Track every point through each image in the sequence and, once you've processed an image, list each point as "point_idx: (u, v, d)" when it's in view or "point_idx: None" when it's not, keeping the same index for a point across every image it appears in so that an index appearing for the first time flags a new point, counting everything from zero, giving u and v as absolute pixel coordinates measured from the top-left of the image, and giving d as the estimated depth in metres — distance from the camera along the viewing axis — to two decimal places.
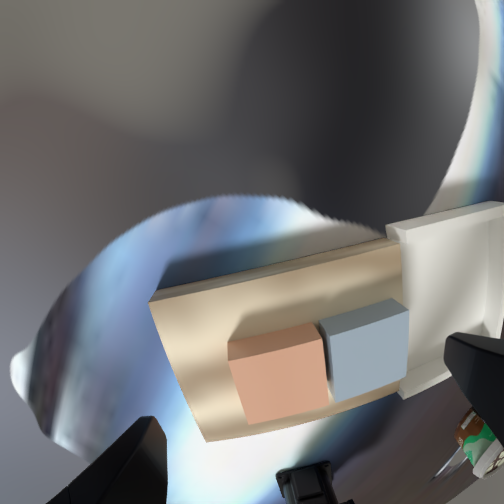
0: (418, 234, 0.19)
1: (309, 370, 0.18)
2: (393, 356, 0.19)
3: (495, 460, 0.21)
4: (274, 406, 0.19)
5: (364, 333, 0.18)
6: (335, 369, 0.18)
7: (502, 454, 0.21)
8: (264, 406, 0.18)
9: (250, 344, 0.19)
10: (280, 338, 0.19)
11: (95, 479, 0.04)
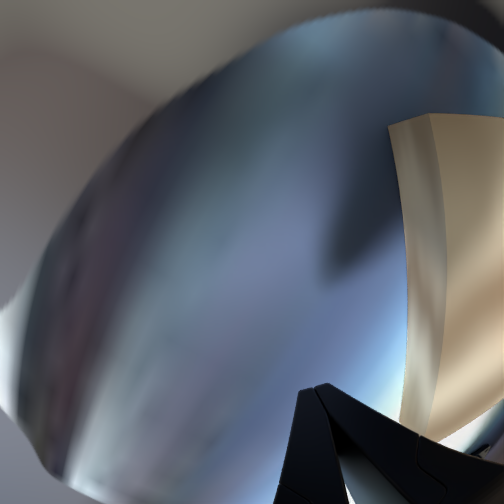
0: None
1: None
2: None
3: None
4: None
5: None
6: None
7: None
8: None
9: None
10: None
11: (313, 461, 0.04)
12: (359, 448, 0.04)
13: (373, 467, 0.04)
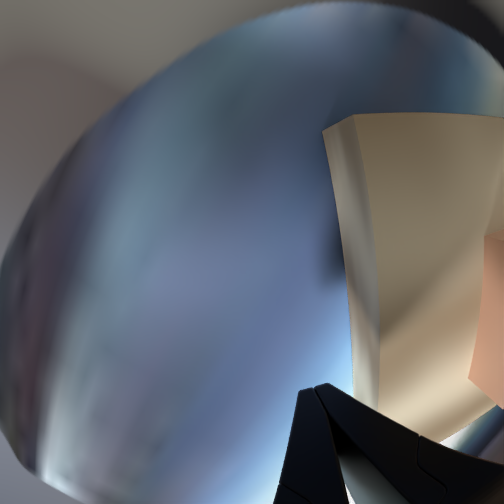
0: None
1: None
2: None
3: None
4: None
5: None
6: None
7: None
8: None
9: None
10: None
11: (313, 461, 0.04)
12: (359, 448, 0.04)
13: (373, 467, 0.04)
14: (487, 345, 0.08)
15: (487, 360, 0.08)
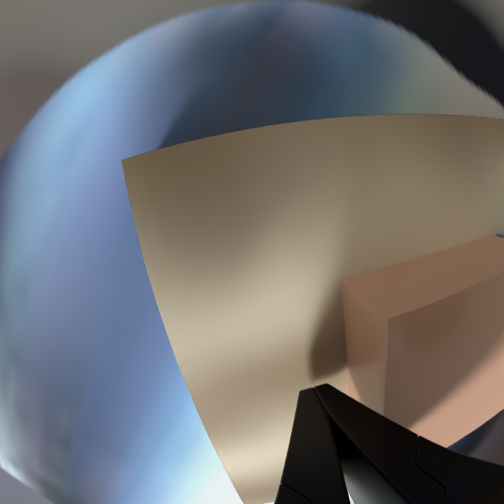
0: None
1: None
2: None
3: None
4: (440, 431, 0.06)
5: None
6: None
7: None
8: (424, 435, 0.06)
9: (411, 276, 0.06)
10: (470, 258, 0.06)
11: (314, 461, 0.04)
12: (358, 448, 0.04)
13: (372, 467, 0.04)
14: None
15: None
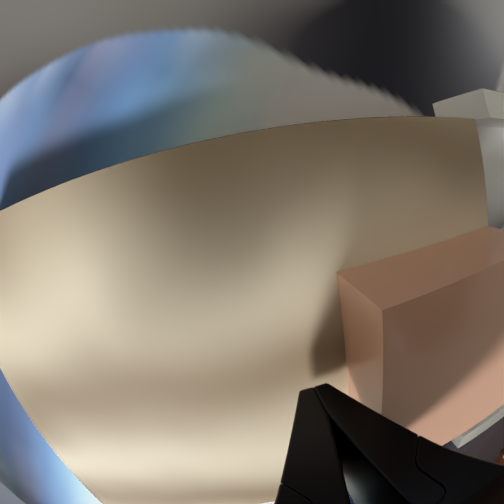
0: (503, 106, 0.06)
1: None
2: None
3: None
4: (441, 425, 0.06)
5: None
6: None
7: None
8: (425, 429, 0.06)
9: (408, 267, 0.06)
10: (467, 250, 0.06)
11: (314, 461, 0.04)
12: (358, 448, 0.04)
13: (372, 468, 0.04)
14: None
15: None
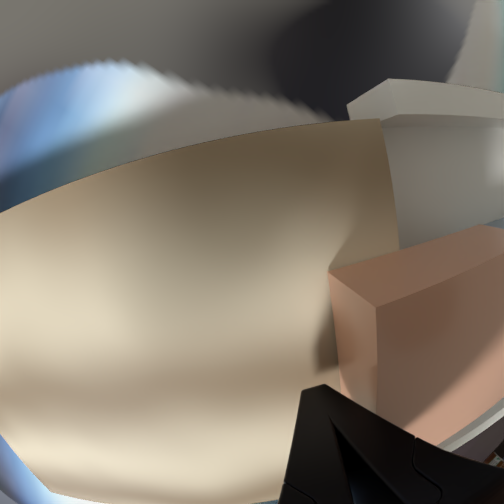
0: (426, 98, 0.06)
1: None
2: None
3: None
4: (436, 424, 0.06)
5: None
6: None
7: None
8: (420, 429, 0.06)
9: (399, 265, 0.06)
10: (459, 247, 0.06)
11: (317, 460, 0.04)
12: (355, 450, 0.04)
13: (369, 469, 0.04)
14: None
15: None
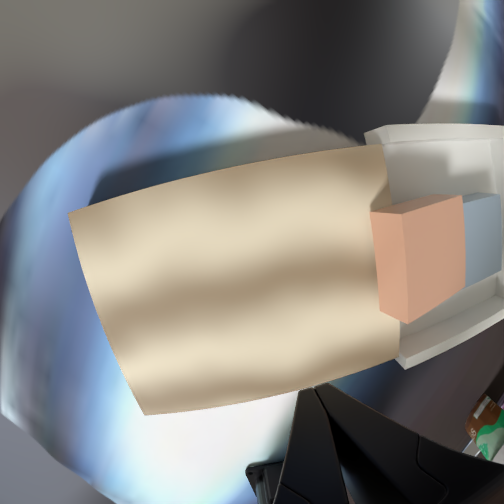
0: (404, 133, 0.14)
1: (455, 234, 0.14)
2: (493, 242, 0.16)
3: None
4: (431, 288, 0.14)
5: (474, 209, 0.16)
6: None
7: None
8: (425, 288, 0.14)
9: (401, 206, 0.15)
10: (424, 200, 0.15)
11: (313, 461, 0.04)
12: (359, 448, 0.04)
13: (373, 467, 0.04)
14: (385, 282, 0.15)
15: (388, 292, 0.15)
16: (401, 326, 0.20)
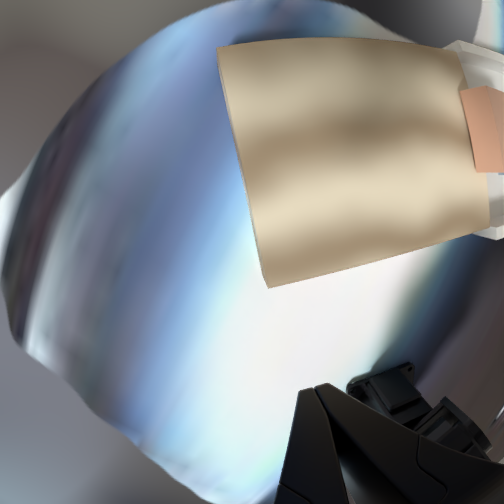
0: (469, 48, 0.14)
1: None
2: None
3: None
4: None
5: None
6: None
7: None
8: None
9: None
10: None
11: (313, 461, 0.04)
12: (359, 448, 0.04)
13: (373, 467, 0.04)
14: (479, 143, 0.15)
15: (483, 151, 0.15)
16: None
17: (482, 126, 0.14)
